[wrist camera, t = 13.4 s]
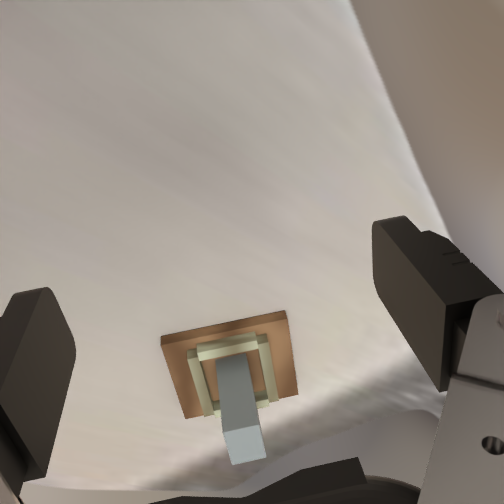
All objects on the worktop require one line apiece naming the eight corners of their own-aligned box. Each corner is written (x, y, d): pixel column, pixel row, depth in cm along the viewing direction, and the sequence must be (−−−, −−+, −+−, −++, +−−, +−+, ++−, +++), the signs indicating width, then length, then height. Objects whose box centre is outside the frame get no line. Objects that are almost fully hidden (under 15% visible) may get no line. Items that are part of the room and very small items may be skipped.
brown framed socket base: (185, 409, 59) (185, 429, 57) (161, 336, 53) (160, 354, 50) (295, 385, 60) (301, 404, 57) (284, 310, 54) (290, 327, 51)
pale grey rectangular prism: (223, 390, 56) (232, 465, 48) (215, 359, 54) (222, 432, 45) (252, 384, 56) (266, 457, 48) (245, 352, 54) (259, 424, 45)
